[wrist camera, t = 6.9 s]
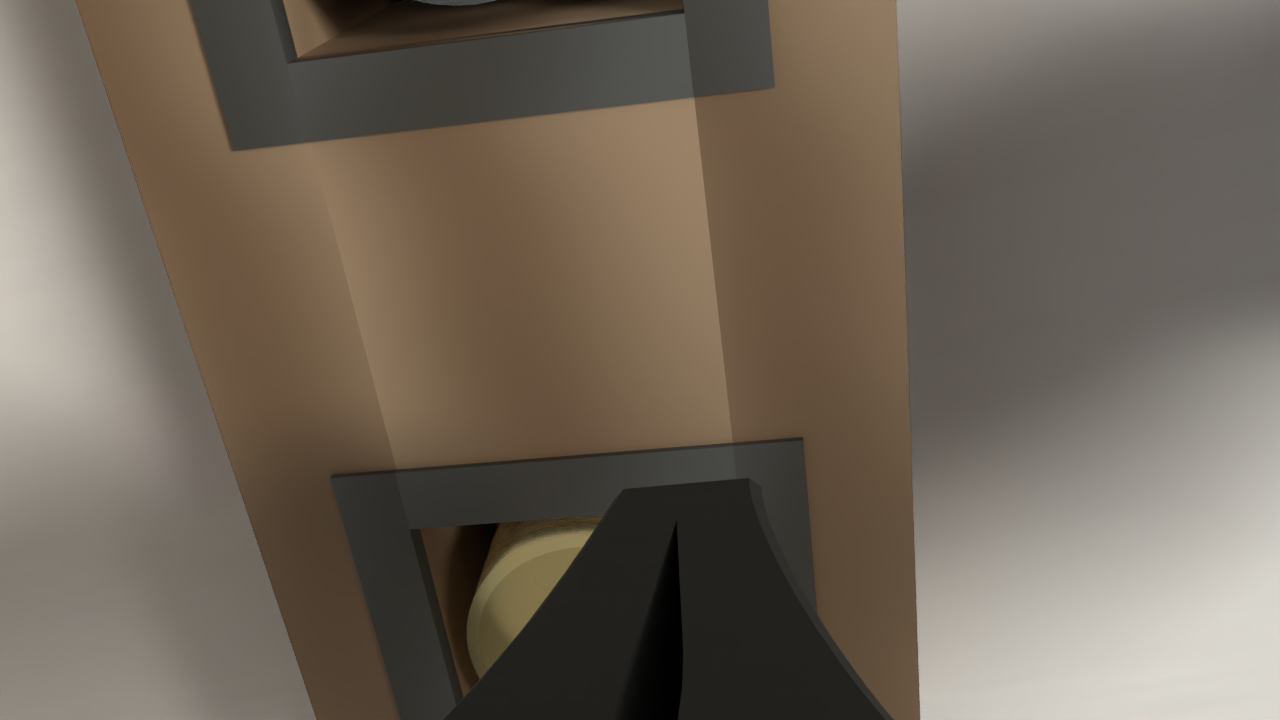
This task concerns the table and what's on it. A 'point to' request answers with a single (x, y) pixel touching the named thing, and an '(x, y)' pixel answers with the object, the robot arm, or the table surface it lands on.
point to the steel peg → (455, 2)
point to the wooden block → (530, 294)
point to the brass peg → (520, 580)
